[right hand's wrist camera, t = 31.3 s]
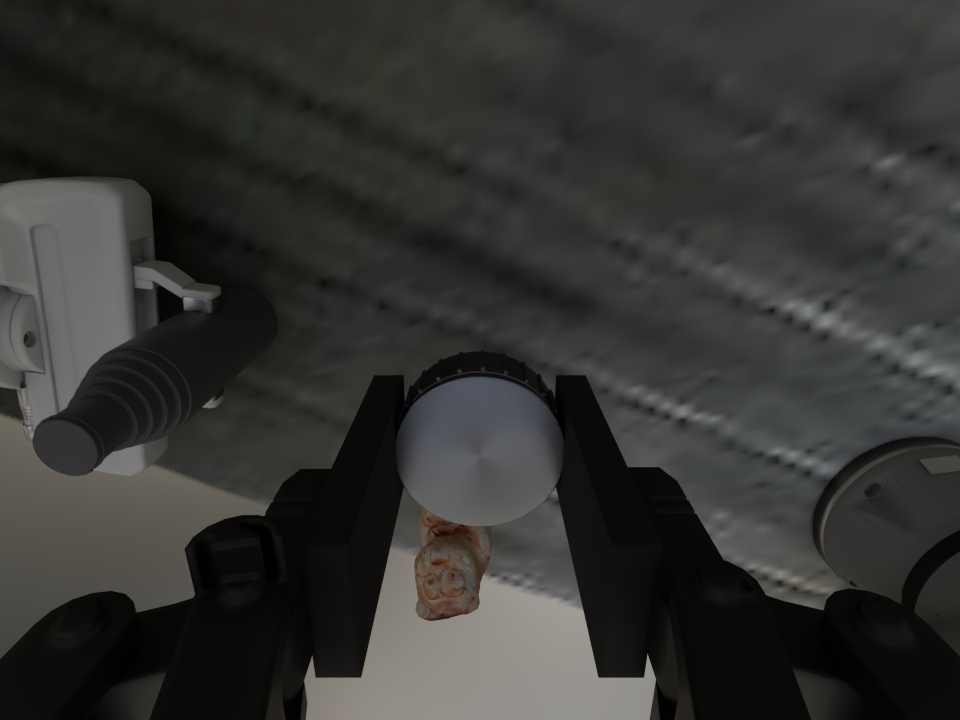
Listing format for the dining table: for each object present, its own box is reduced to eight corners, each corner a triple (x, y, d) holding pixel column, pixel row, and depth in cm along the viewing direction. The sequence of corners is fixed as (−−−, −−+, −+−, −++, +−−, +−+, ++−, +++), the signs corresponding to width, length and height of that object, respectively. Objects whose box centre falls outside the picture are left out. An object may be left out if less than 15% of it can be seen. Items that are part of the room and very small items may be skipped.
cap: (489, 514, 16) (490, 555, 14) (369, 432, 15) (356, 466, 13) (591, 413, 14) (604, 445, 13) (468, 316, 14) (466, 338, 12)
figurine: (480, 408, 45) (480, 524, 31) (507, 483, 48) (519, 622, 34) (410, 429, 46) (378, 552, 32) (441, 502, 48) (424, 646, 34)
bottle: (191, 304, 42) (-27, 421, 24) (252, 275, 41) (72, 373, 23) (232, 364, 44) (57, 515, 26) (290, 337, 43) (152, 474, 25)
